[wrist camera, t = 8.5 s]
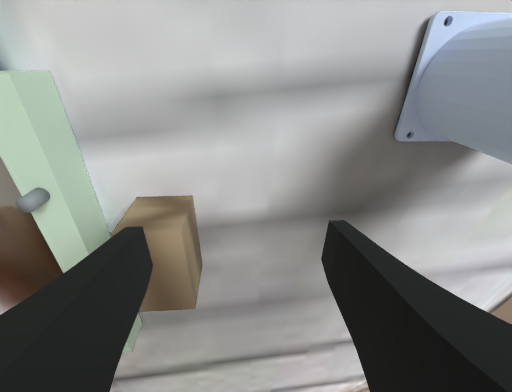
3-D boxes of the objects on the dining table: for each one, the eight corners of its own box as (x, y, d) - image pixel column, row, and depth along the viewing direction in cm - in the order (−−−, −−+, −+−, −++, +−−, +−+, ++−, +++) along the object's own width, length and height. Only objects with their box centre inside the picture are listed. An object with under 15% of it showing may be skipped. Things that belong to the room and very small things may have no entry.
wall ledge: (50, 70, 15) (-16, 76, 11) (142, 323, 28) (126, 367, 24) (7, 70, 15) (-75, 75, 11) (119, 324, 28) (100, 369, 24)
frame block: (192, 194, 20) (181, 232, 16) (202, 263, 24) (195, 308, 20) (135, 196, 20) (108, 234, 16) (155, 266, 24) (137, 312, 20)
